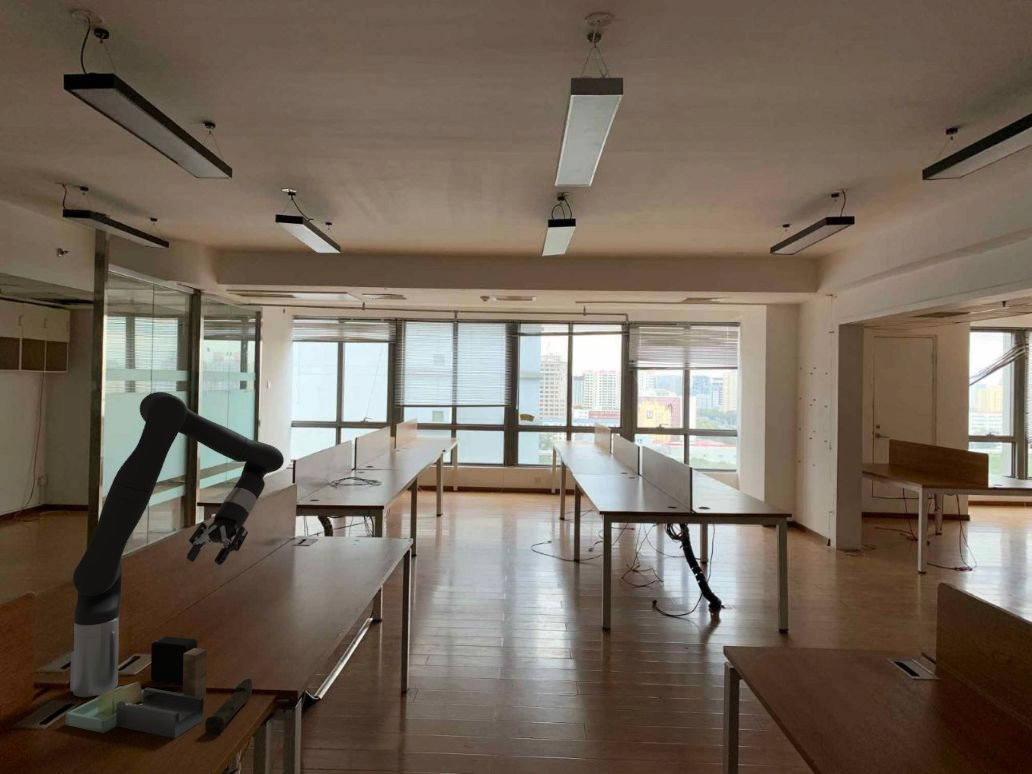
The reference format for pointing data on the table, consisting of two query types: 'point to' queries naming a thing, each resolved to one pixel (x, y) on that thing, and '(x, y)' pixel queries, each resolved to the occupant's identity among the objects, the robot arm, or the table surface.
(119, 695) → the pale yellow cube
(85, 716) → the tray
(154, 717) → the slot rail
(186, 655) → the tan wooden block
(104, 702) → the tan cube
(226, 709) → the hand tool
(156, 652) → the electronic device
